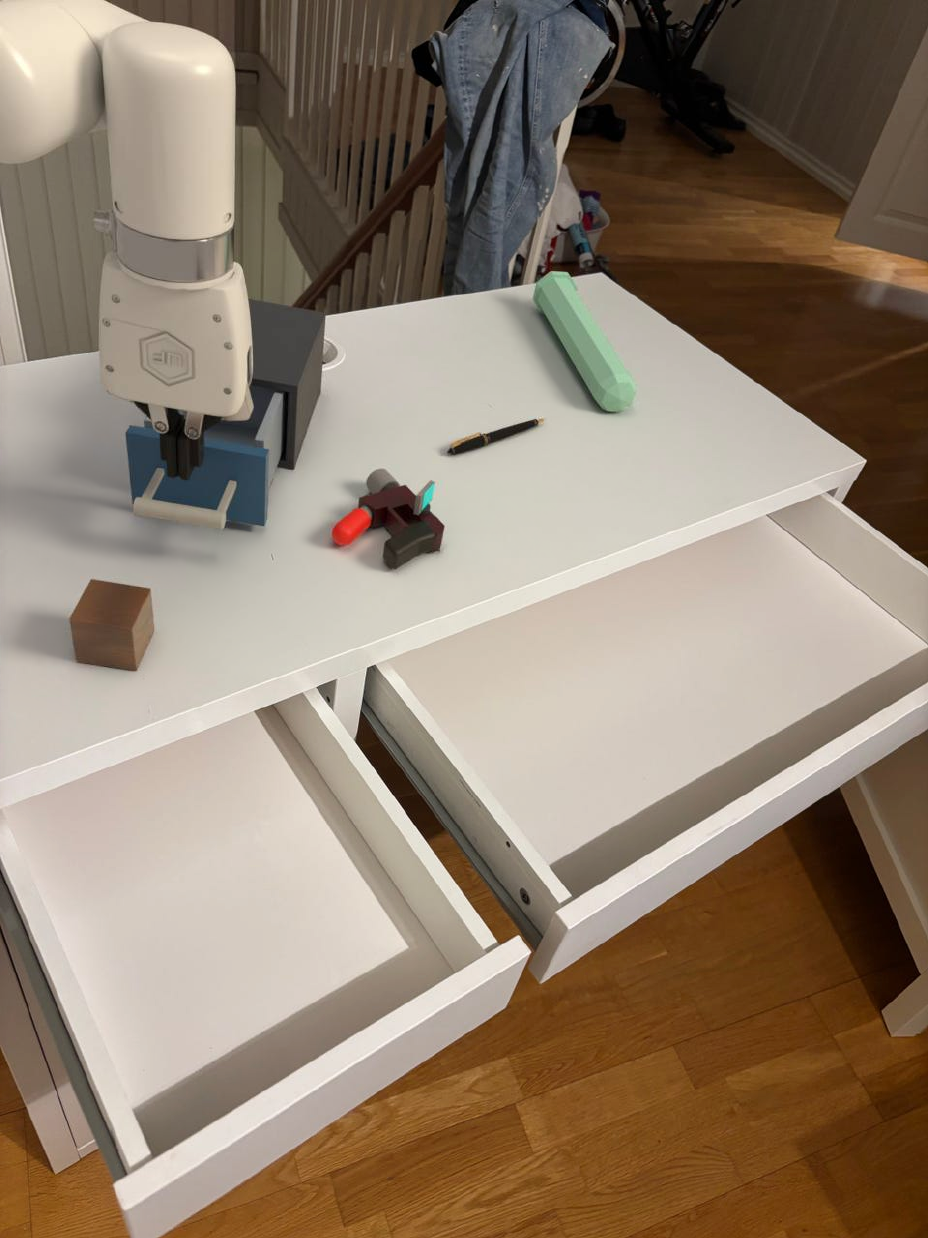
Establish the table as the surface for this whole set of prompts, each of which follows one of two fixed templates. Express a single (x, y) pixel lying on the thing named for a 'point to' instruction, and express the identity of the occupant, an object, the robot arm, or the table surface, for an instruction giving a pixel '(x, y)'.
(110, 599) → the block
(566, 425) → the table surface
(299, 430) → the cabinet
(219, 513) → the drawer
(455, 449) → the fountain pen
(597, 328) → the container
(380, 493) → the toy gun
